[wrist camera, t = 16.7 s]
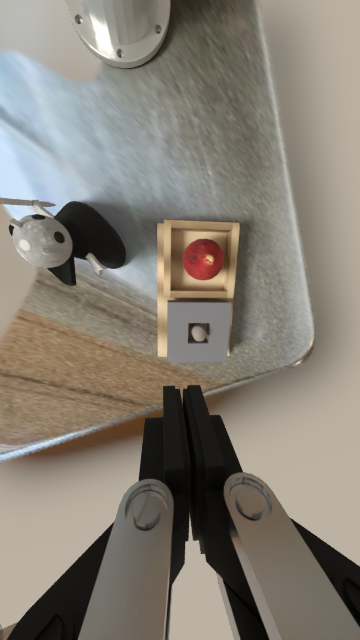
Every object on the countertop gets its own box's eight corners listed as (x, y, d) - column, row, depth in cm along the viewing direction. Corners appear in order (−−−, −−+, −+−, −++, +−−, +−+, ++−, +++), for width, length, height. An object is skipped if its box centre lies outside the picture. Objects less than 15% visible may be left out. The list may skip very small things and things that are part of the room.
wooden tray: (157, 224, 32) (156, 215, 27) (237, 227, 33) (252, 220, 28) (158, 354, 38) (157, 368, 32) (227, 353, 39) (237, 366, 33)
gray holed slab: (167, 300, 33) (167, 302, 31) (226, 300, 34) (231, 302, 32) (167, 356, 35) (167, 362, 33) (222, 355, 36) (226, 361, 34)
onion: (177, 274, 33) (181, 276, 26) (185, 237, 32) (192, 228, 24) (211, 282, 34) (225, 286, 26) (220, 246, 33) (238, 240, 25)
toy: (139, 247, 32) (87, 269, 19) (113, 276, 35) (51, 313, 21) (79, 182, 29) (-34, 154, 16) (56, 219, 32) (-57, 221, 19)
